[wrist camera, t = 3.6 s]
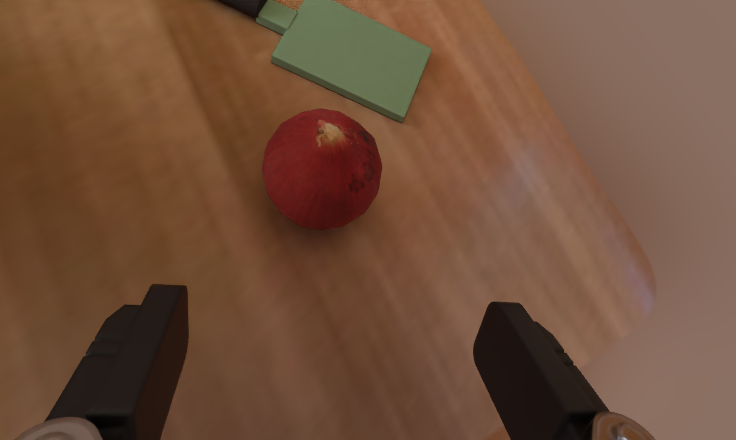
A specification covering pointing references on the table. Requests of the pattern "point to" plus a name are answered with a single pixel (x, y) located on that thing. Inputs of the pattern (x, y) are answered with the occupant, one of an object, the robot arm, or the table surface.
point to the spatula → (344, 52)
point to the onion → (322, 169)
